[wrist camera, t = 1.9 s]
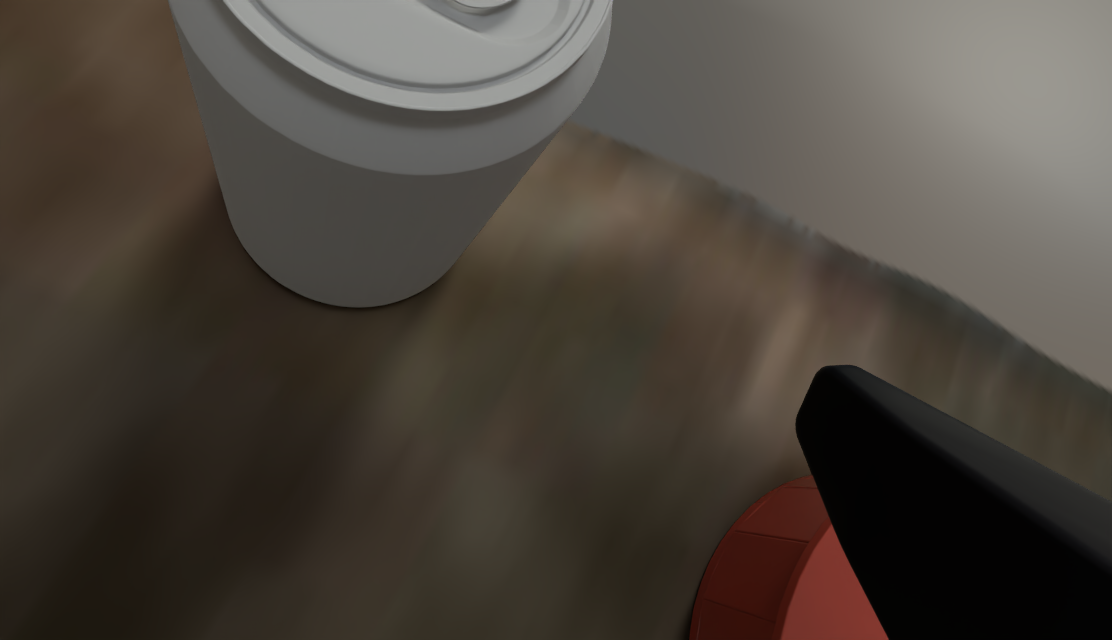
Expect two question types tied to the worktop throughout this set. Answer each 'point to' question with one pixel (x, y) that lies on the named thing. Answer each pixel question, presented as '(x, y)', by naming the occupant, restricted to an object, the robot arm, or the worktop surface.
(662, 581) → the worktop surface
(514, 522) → the worktop surface
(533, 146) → the beverage can
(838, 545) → the pot lid
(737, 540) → the pot
